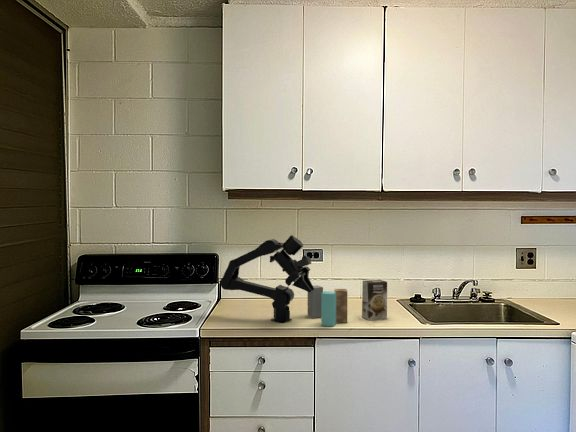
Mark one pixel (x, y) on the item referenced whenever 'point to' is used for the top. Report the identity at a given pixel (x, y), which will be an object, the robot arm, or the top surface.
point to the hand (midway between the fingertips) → (312, 290)
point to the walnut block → (341, 305)
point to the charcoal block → (315, 302)
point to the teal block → (328, 308)
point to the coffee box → (374, 299)
